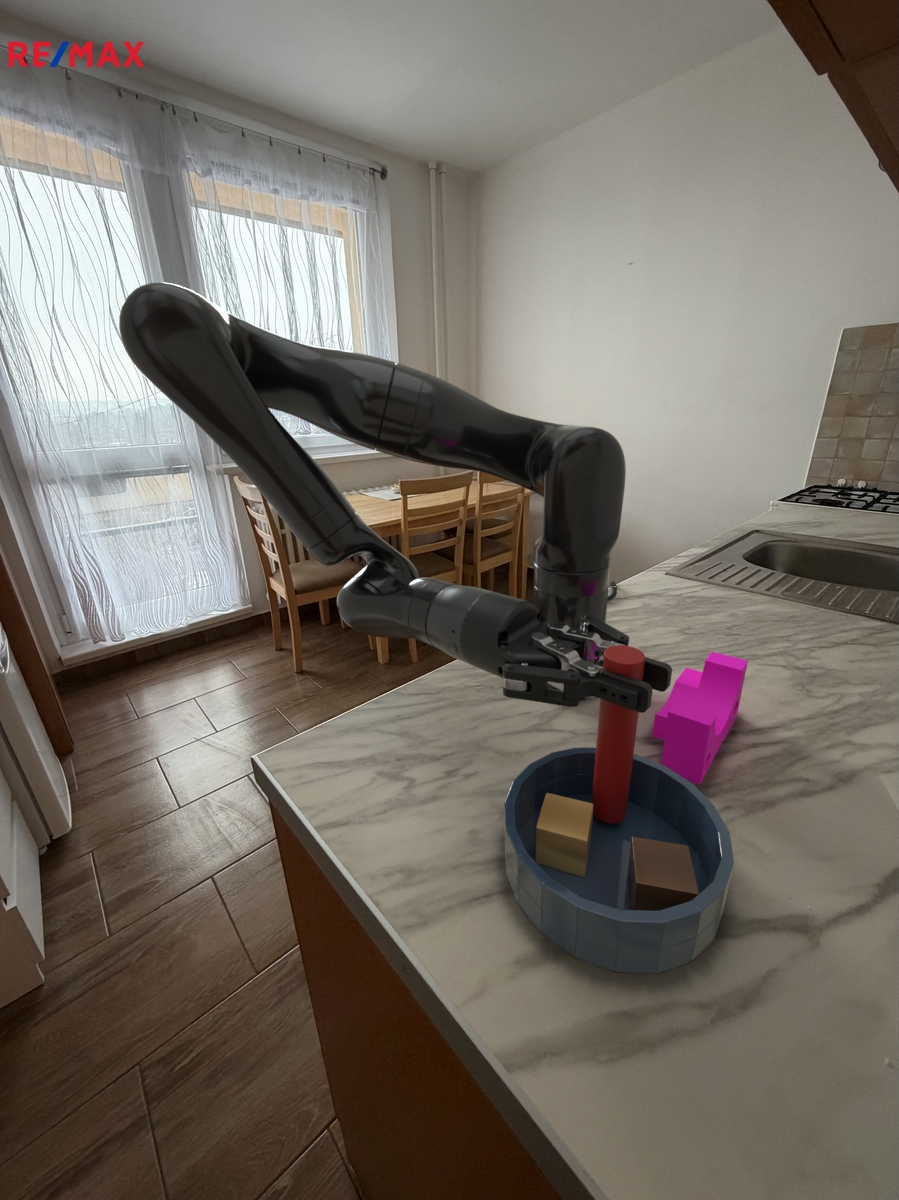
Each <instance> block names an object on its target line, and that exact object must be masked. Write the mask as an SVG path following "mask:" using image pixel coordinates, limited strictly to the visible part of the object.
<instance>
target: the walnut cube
mask: <svg viewBox="0 0 899 1200" xmlns="http://www.w3.org/2000/svg"><path fill="white" fill-rule="evenodd" d="M628 883H629V895H630V907H631V910H644V911H660V910H663V909H667V908H670V907H673V906H676V905H680V904H683V903H686V902H690V901H692V900H693V899H694V898H695V897H696V896H697V895H699V891H698V886H697V882H696V877H695V873H694V869H693V864H692V860H691V855H690V851H689V846H687V845H681V844H675V843H669V842H662V841H656V840H650V839H644V838H638V837H632V840H631V849H630V857H629V866H628Z"/></svg>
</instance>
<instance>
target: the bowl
mask: <svg viewBox="0 0 899 1200" xmlns="http://www.w3.org/2000/svg"><path fill="white" fill-rule="evenodd" d="M595 755H596V747H572V748H566V749H563V750H557V751H553V752H550V753H548V754H546V755H545V756H544V755H543V756H542V757H540V758H538V759H537V760H534V761H532V762H531V763H529V764H527V766H526V767H525V768H524V769H522V771H521V772H520V773H519V774H518V775H517V776H516V777H515V778H514V779H513V780H512V782H511V785H510V788H509V790H508V793H507V796H506V798H505V801H504V803H503V806H504V807H503V808H504V816H503V817H504V857H505V859H504V860H505V875H506V878H507V880H508V883H509V884H510V888H511V892H512V893H513V895H514V899H515V900H516V903H517V905H518V906H519V907H520V908H521V910H522V911H523V913H524V914H525V916H526V917H527V918H528V919H529V921H530V922H531V923H532V924H533V925H534V926H535V928H536V929H537V930H538V931H539V932H540V933H541V934H542V935H543V936H545V937H546V938H547V939H548V940H550V941H551V942H552V943H553V944H554V945H556V946H557V947H559V948H560V949H562V950H563V951H565V952H566V953H568V954H570V955H571V956H573V957H575V958H576V959H579V960H581V961H584V962H586V963H588V964H591V965H593V966H596V967H598V968H602V969H605V970H609V971H612V972H616V973H626V974H639V975H640V974H643V975H644V974H645V975H646V974H651V975H652V974H653V975H654V974H655V975H656V974H659V973H663V972H666V971H670V970H674V969H677V968H679V967H681V966H683V965H686V964H689V963H691V962H693V960H694V959H695V958H697V957H698V956H699V955H701V953H702V952H704V950H705V949H706V948H707V947H708V946H709V945H710V944H711V943H712V942H714V940H715V938H716V935H717V932H718V928H719V927H720V926H719V925H720V922H721V919H722V916H723V913H724V910H725V907H726V906H725V905H726V901H727V897H728V892H729V889H730V885H731V884H730V883H731V880H732V874H733V871H734V867H735V858H734V852H733V845H732V838H731V833H730V831H729V829H728V827H727V825H726V824H725V822H724V820H723V817H721V815H720V813H719V811H718V810H717V808H716V806H715V804H713V803H712V802H711V801H710V800H709V798H707V797H706V796H705V795H704V794H703V793H702V792H701V791H700V790H699V789H698V787H696V786H695V785H694V784H693V782H691V781H689V780H686V779H685V778H683V777H682V776H680V775H678V774H677V773H675V772H674V771H672V770H671V769H669V768H668V767H666V766H664V765H662V764H661V763H659V762H657V761H654V760H651V759H650V758H646V757H644V756H642V755H640V754H637V753H634V754H633V763H632V771H631V779H630V787H629V796H628V804H627V812H626V817H625V819H624V820H623V821H621V822H619V823H614V824H613V823H606V822H603V821H601V820H600V819H598V818H597V817H596V816H595V815H594V814H593V822H592V835H591V843H590V850H589V856H588V862H587V868H586V874H585V877H581V876H578V875H574V874H571V873H568V872H564V871H561V870H558V869H554V868H551V867H548V866H544V865H541V864H537V863H536V826H537V823H538V819H539V816H540V812H541V809H542V806H543V802H544V799H545V795H546V793H551V794H555V795H559V796H563V797H567V798H571V799H575V800H580V801H584V802H588V803H592V791H593V779H594V767H595ZM632 837H638V838H644V839H650V840H656V841H662V842H669V843H675V844H681V845H687V846H689V851H690V855H691V860H692V864H693V869H694V873H695V877H696V882H697V886H698V891H699V895H697V896H696V897H695V898H694V899H693V900H692V901H690V902H686V903H683V904H680V905H676V906H673V907H670V908H667V909H663V910H660V911H644V910H631V907H630V895H629V883H628V866H629V857H630V849H631V840H632Z"/></svg>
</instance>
